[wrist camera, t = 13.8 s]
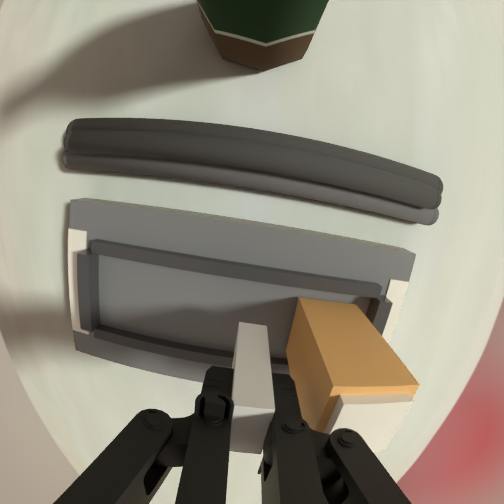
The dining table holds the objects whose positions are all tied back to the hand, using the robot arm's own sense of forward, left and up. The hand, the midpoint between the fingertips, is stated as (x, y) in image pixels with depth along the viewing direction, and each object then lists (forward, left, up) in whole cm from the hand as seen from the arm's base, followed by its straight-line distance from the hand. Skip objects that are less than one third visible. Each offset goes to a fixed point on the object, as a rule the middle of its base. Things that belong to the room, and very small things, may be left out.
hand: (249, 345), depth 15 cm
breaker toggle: (0, +5, -3) cm, 6 cm away
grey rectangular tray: (0, -1, -5) cm, 6 cm away
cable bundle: (-10, -1, -5) cm, 11 cm away
